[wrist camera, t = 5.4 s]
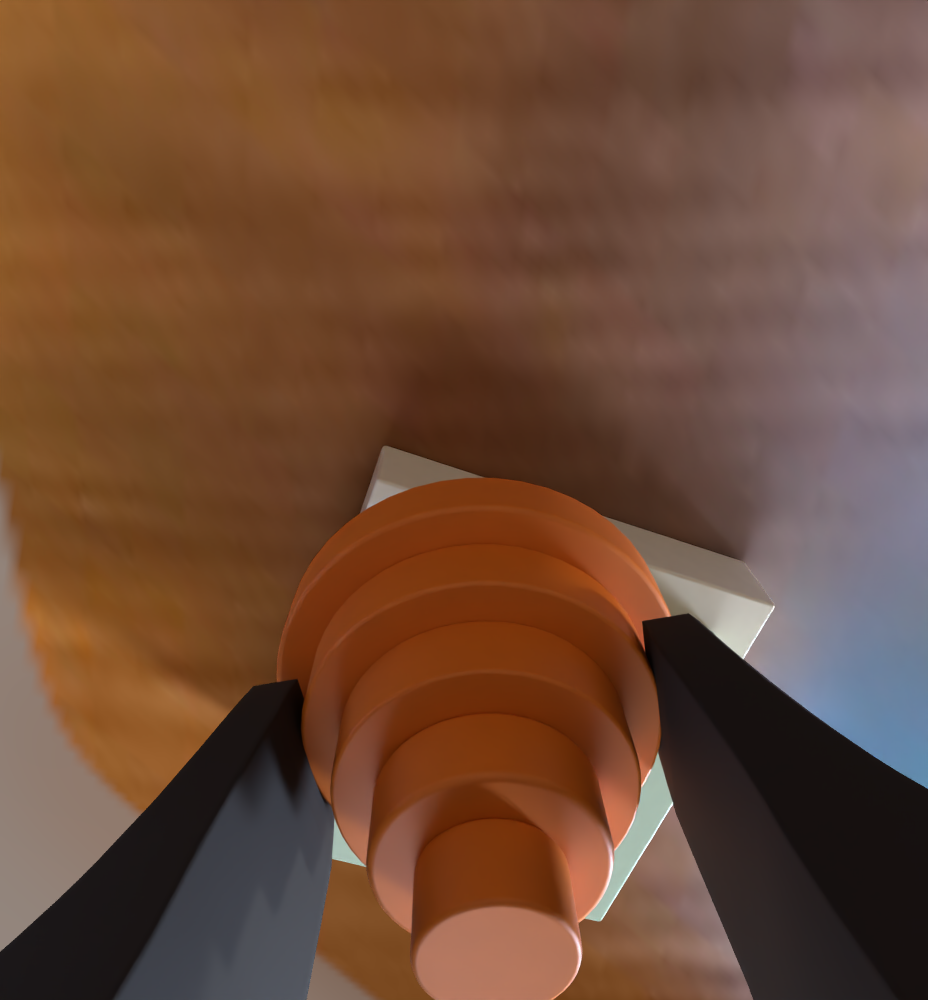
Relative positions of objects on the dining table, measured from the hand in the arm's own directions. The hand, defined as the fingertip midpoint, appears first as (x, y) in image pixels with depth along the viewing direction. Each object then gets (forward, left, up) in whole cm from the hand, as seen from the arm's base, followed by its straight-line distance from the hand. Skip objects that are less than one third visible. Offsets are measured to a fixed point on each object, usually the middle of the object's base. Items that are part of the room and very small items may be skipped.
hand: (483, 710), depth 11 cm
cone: (0, 0, -1) cm, 1 cm away
